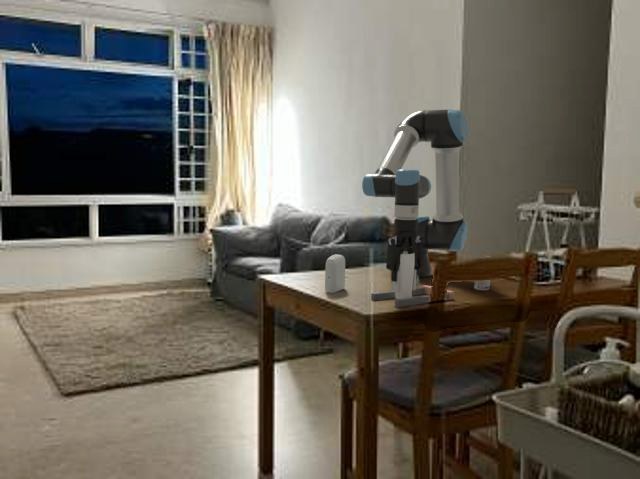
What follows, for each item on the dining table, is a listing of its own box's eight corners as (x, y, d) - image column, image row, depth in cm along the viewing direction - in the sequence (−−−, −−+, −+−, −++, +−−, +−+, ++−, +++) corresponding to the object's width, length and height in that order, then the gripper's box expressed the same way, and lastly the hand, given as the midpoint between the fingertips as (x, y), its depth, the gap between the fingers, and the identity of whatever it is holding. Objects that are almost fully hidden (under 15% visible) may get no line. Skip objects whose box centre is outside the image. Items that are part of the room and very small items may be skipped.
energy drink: (490, 288, 232) (491, 255, 231) (488, 291, 227) (490, 257, 226) (474, 287, 234) (476, 254, 233) (473, 289, 229) (474, 256, 228)
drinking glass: (390, 296, 212) (391, 251, 210) (411, 296, 213) (412, 250, 211) (395, 301, 205) (395, 254, 203) (416, 300, 206) (417, 254, 204)
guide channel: (425, 292, 223) (425, 285, 223) (453, 299, 212) (453, 291, 212) (371, 299, 209) (371, 291, 209) (398, 307, 199) (398, 299, 198)
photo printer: (335, 293, 218) (335, 257, 217) (323, 292, 220) (324, 256, 219) (346, 288, 228) (347, 253, 226) (335, 287, 229) (335, 252, 228)
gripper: (391, 220, 197) (388, 295, 200) (436, 218, 208) (434, 289, 211) (375, 218, 203) (373, 291, 206) (420, 216, 214) (418, 285, 217)
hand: (404, 290), depth 208 cm, fingers closed on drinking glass, 6 cm apart
